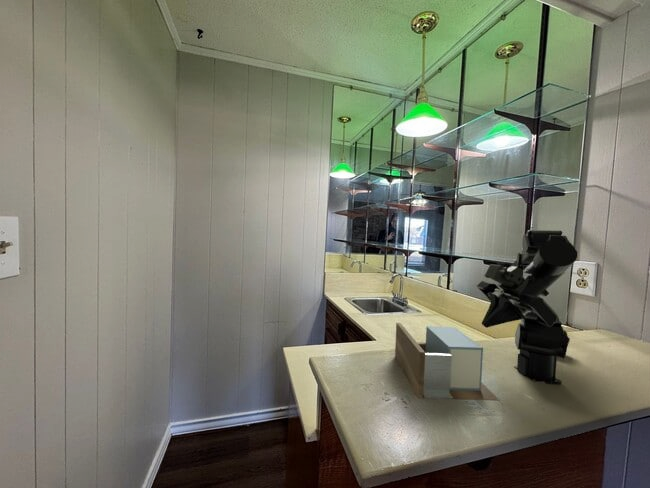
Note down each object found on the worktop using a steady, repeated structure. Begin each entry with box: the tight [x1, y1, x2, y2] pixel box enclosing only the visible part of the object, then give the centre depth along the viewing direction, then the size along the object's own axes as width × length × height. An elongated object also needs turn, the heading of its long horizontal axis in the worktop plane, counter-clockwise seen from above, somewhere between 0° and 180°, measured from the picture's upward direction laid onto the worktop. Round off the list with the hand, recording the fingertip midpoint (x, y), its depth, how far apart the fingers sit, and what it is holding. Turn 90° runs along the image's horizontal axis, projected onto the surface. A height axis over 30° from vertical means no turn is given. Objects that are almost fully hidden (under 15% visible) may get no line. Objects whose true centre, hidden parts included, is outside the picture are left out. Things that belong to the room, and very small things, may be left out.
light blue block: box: [425, 325, 484, 391], centre depth 60 cm, size 7×12×9 cm, turn 0°
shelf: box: [394, 322, 501, 401], centre depth 60 cm, size 16×17×10 cm
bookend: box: [423, 353, 454, 400], centre depth 52 cm, size 6×2×8 cm, turn 90°
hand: (483, 325), depth 60 cm, fingers closed
